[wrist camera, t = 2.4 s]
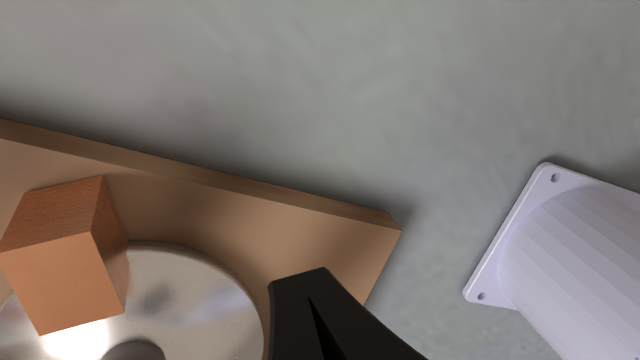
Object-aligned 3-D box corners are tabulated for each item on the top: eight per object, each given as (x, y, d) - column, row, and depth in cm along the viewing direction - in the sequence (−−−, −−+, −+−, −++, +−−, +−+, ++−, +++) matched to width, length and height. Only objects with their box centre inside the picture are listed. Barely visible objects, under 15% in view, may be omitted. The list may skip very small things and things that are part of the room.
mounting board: (388, 212, 22) (427, 263, 19) (272, 444, 27) (286, 515, 24) (-113, 90, 15) (-188, 138, 12) (-144, 436, 20) (-204, 536, 17)
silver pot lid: (277, 390, 23) (294, 458, 20) (49, 462, 21) (31, 549, 18) (218, 148, 17) (230, 197, 14) (-110, 221, 15) (-174, 294, 12)
